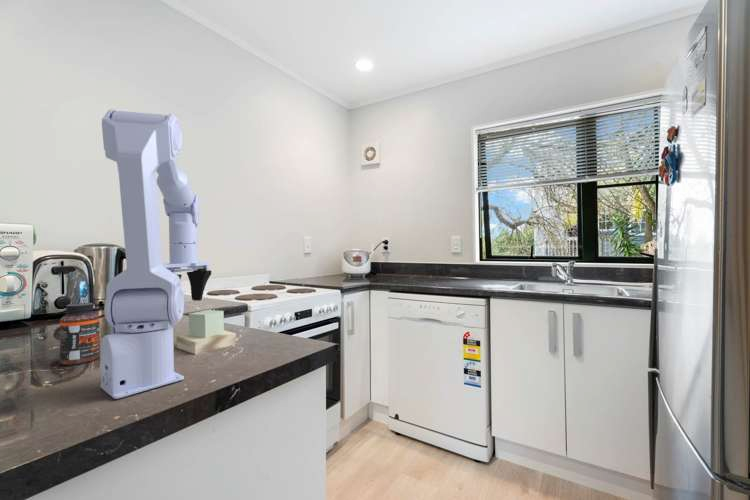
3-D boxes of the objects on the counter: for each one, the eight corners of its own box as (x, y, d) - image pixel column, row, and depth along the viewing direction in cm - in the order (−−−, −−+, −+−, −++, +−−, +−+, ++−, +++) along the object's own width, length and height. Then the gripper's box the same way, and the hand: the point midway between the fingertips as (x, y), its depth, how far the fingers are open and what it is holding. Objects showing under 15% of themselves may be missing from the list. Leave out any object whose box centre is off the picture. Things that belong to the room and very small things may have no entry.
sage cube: (205, 338, 74) (205, 315, 74) (189, 336, 76) (188, 313, 76) (224, 332, 78) (223, 311, 78) (208, 331, 80) (207, 309, 80)
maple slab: (195, 356, 71) (195, 342, 71) (176, 349, 76) (176, 336, 76) (236, 346, 78) (236, 333, 78) (216, 340, 83) (216, 328, 83)
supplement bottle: (82, 366, 64) (80, 306, 64) (51, 366, 65) (49, 306, 65) (107, 356, 70) (106, 301, 70) (79, 356, 71) (77, 301, 71)
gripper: (172, 243, 71) (174, 308, 71) (219, 244, 85) (220, 298, 85) (145, 244, 73) (146, 307, 73) (195, 244, 87) (196, 298, 87)
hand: (184, 302), depth 79 cm, fingers open, 7 cm apart
